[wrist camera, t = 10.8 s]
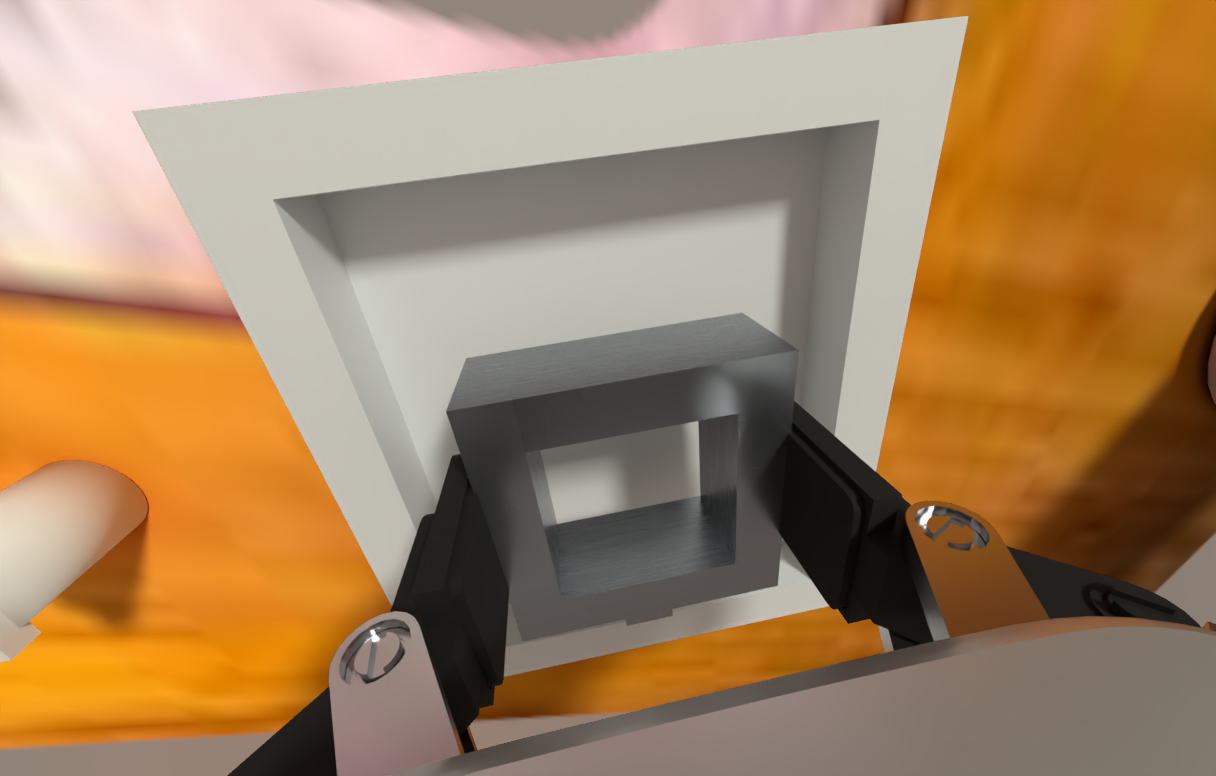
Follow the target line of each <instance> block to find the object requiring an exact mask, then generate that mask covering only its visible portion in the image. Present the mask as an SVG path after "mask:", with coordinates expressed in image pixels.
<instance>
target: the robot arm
mask: <svg viewBox="0 0 1216 776" xmlns="http://www.w3.org/2000/svg"><path fill="white" fill-rule="evenodd" d="M1208 386H1209V389H1210V392H1211V395H1212V398H1213V401H1214V403H1215V404H1216V334H1215V336H1214V339H1213V343H1212V348H1211V352H1210V356H1209V360H1208ZM901 496H902V494H901V493H900V492H898V491H897V490H896V489H895V488H894V487H893V486H891V485H890V484H889V483H888V482H887V481H886V480H885V479H883V478H882V477H881V476H880V475H879V474H878V473H877V472H875V471H874V470H873V469H872V468H871V467H870V466H869V465H867V464H866V463H865V462H864V461H863V460H862V459H861V458H859V457H858V456H857V455H856V454H855V453H854V452H853V451H851V450H850V449H849V448H848V447H847V446H846V445H845V444H843V443H842V442H841V441H840V440H839V439H838V438H836V437H835V436H834V435H833V434H832V433H831V432H830V431H828V430H827V429H826V428H825V427H824V426H823V425H822V424H820V423H819V422H818V421H817V420H816V419H815V418H814V417H812V416H811V415H810V414H809V413H808V412H807V411H806V410H804V409H803V408H802V407H801V406H800V405H799V404H798V403H796V402H795V401H794V408H793V420H792V431H791V433H788V439H787V450H786V462H785V474H784V486H783V498H782V510H781V522H780V535H781V536H782V538H783V539H784V541H785V542H786V544H787V545H788V547H789V548H790V550H791V551H792V553H793V554H794V556H795V557H796V559H797V560H798V561H799V563H800V564H801V566H802V567H803V569H804V570H805V572H806V573H807V575H808V576H809V578H810V579H811V581H812V582H813V584H814V585H815V586H816V588H817V589H818V591H819V592H820V594H821V595H822V597H823V598H824V600H825V601H826V603H827V604H828V605H829V606H830V607H831V608H832V609H838V610H839V611H840V613H841V614H842V616H843V617H844V618H845V620H846V621H847V623H848V624H849V623H853V622H857V621H862V620H866V619H871V620H872V622H873V623H874V624H877V625H879V630H880V635H881V639H882V643H883V647H884V651H885V653H882V654H877V655H873V656H868V657H864V658H860V659H855V660H851V661H847V662H842V663H838V664H834V665H829V666H825V667H821V668H816V669H812V670H808V671H804V672H799V673H795V674H791V675H787V676H782V677H778V678H774V679H770V680H765V681H761V682H757V683H753V684H748V685H744V686H740V687H736V688H731V689H727V690H723V691H719V692H714V693H710V694H706V695H702V696H698V697H693V698H689V699H685V700H681V701H676V702H672V703H668V704H664V705H660V706H655V707H651V708H647V709H643V710H639V711H635V712H631V713H627V714H622V715H618V716H614V717H610V718H606V719H602V720H598V721H594V722H590V723H585V724H581V725H577V726H573V727H569V728H565V729H560V730H556V731H552V732H548V733H544V734H540V735H536V736H532V737H527V738H523V739H519V740H515V741H511V742H508V743H504V744H500V745H496V746H492V747H489V748H485V749H481V750H477V748H476V745H475V742H474V739H473V737H472V734H471V731H470V728H469V725H470V724H471V723H472V722H473V720H474V719H475V718H476V717H477V716H478V714H479V708H482V707H486V706H490V705H493V701H494V688H495V686H497V685H502V683H503V679H504V666H505V650H506V634H507V618H508V603H509V588H508V585H507V582H506V579H505V575H504V572H503V569H502V566H501V563H500V560H499V557H498V554H497V551H496V548H495V545H494V542H493V539H492V536H491V533H490V530H489V527H488V524H487V521H486V518H485V515H484V512H483V509H482V505H481V502H480V499H479V496H478V493H477V492H476V493H473V491H472V488H471V485H470V482H469V479H468V476H467V473H466V470H465V467H464V464H463V461H462V458H461V455H460V454H457V455H453V456H452V457H451V460H450V464H449V467H448V470H447V474H446V477H445V480H444V484H443V487H442V490H441V494H440V497H439V500H438V504H437V507H436V510H435V513H433V514H427V515H425V516H424V517H423V518H422V520H421V522H420V524H419V527H418V530H417V533H416V536H415V539H414V542H413V545H412V548H411V551H410V554H409V557H408V560H407V563H406V566H405V569H404V572H403V575H402V578H401V581H400V584H399V587H398V590H397V593H396V596H395V599H394V602H393V605H392V608H391V611H390V612H389V613H384V614H381V615H379V616H377V617H374V618H372V619H370V620H368V621H367V622H365V623H364V624H362V625H361V626H359V627H358V628H357V629H356V630H354V631H353V632H352V633H351V634H350V635H349V636H348V637H347V638H346V639H345V640H344V642H343V643H342V644H341V646H340V647H339V649H338V650H337V651H336V653H335V655H334V658H333V660H332V662H331V664H330V670H329V687H328V688H327V689H326V690H325V691H324V692H322V693H321V694H320V695H319V696H318V697H317V698H316V699H314V700H313V701H312V702H311V703H310V704H309V705H308V706H306V707H305V708H304V709H303V710H302V711H301V712H300V713H298V714H297V715H296V716H295V717H294V718H293V719H292V720H290V721H289V722H288V723H287V724H286V725H285V726H284V727H282V728H281V729H280V730H279V731H278V732H277V733H276V734H274V735H273V736H272V737H271V738H270V739H269V740H268V741H266V742H265V743H264V744H263V745H262V746H261V747H260V748H258V749H257V750H256V751H255V752H254V753H253V754H252V755H250V757H248V758H247V759H246V760H245V761H244V762H242V763H241V764H240V765H239V766H238V767H237V768H236V769H234V770H233V771H232V772H231V773H230V774H229V775H228V776H1216V624H1214V623H1211V622H1207V623H1206V624H1205V625H1204V627H1203V628H1202V627H1200V625H1199V624H1198V623H1197V622H1196V621H1194V620H1193V619H1192V618H1191V617H1190V616H1189V615H1188V614H1187V613H1186V612H1185V611H1183V610H1182V609H1180V608H1179V607H1177V606H1176V605H1174V604H1173V603H1171V602H1170V601H1168V600H1167V599H1165V598H1162V597H1161V596H1159V595H1157V594H1155V593H1153V592H1151V591H1149V590H1147V589H1144V588H1141V587H1139V586H1136V585H1133V584H1130V583H1128V582H1124V581H1121V580H1118V579H1114V578H1111V577H1108V576H1104V575H1101V574H1098V573H1094V572H1091V571H1088V570H1084V569H1081V568H1077V567H1074V566H1071V565H1067V564H1064V563H1061V562H1057V561H1054V560H1051V559H1047V558H1044V557H1041V556H1037V555H1034V554H1031V553H1027V552H1024V551H1021V550H1017V549H1014V548H1011V547H1007V546H1006V545H1005V543H1004V542H1003V540H1002V539H1001V537H1000V535H999V534H998V532H997V531H996V530H995V528H994V527H993V526H992V525H991V524H990V523H989V522H988V521H986V520H985V519H984V518H982V517H981V516H980V515H978V514H976V513H974V512H972V511H970V510H968V509H966V508H964V507H961V506H958V505H955V504H952V503H946V502H941V501H923V502H918V503H915V504H913V505H912V506H911V505H910V504H909V503H908V502H907V501H906V500H905V499H903V498H902V497H901Z"/></svg>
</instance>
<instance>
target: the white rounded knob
mask: <svg viewBox="0 0 1216 776" xmlns="http://www.w3.org/2000/svg"><path fill="white" fill-rule="evenodd" d="M147 512H148V504H147V500H146V498H145V496H144V494H143V493H142V491H141V490H140V488H139V487H138V486H137V485H136V484H135V483H134V482H133V481H131V480H130V479H129V478H127V477H126V476H124V475H123V474H121V473H119V472H117V471H115V470H113V469H111V468H109V467H106V466H103V465H100V464H97V463H93V462H88V461H82V460H62V461H56V462H52V463H49V464H47V465H45V466H43V467H41V468H39V469H38V470H36V471H34V472H33V473H31V474H29V475H27V476H26V477H24V478H22V479H21V480H19V481H17V482H16V483H14V484H12V485H10V486H9V487H7V488H5V489H4V490H2V491H0V662H3V661H8V660H12V659H13V658H14V657H15V656H16V655H18V654H19V653H20V652H21V651H22V650H23V649H24V648H25V647H26V646H27V645H28V644H29V643H31V642H32V641H33V640H34V639H35V638H36V637H37V636H38V635H39V634H40V633H41V632H40V631H39V630H38V629H37V628H36V627H35V626H33V625H32V624H31V623H30V622H29V621H30V620H31V619H32V618H33V617H34V616H36V615H37V614H38V613H39V612H40V611H41V610H42V609H44V608H45V607H46V606H47V605H48V604H49V603H50V602H52V601H53V600H54V599H55V598H56V597H57V596H58V595H60V594H61V593H62V592H63V591H64V590H65V589H66V588H68V587H69V586H70V585H71V584H72V583H73V582H74V581H76V580H77V579H78V578H79V577H80V576H81V575H82V574H84V573H85V572H86V571H87V570H88V569H89V568H90V567H92V566H93V565H94V564H95V563H96V562H97V561H98V560H100V559H101V558H102V557H103V556H104V555H105V554H106V553H108V552H109V551H110V550H111V549H112V548H113V547H114V546H116V545H117V544H118V543H119V542H120V541H121V540H122V539H124V538H125V537H126V536H127V535H128V534H129V533H130V532H132V531H133V530H134V529H135V528H136V527H137V526H138V525H140V524H141V523H142V522H143V521H144V519H145V517H146V515H147Z"/></svg>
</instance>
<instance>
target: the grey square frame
mask: <svg viewBox="0 0 1216 776" xmlns="http://www.w3.org/2000/svg"><path fill="white" fill-rule="evenodd" d="M798 352H799V350H798V349H796V348H795V347H793V346H792V345H790V344H789V343H787V342H786V341H784V340H783V339H781V338H780V337H778V336H777V335H775V334H774V333H772V332H771V331H769V330H768V329H766V328H765V327H763V326H762V325H760V324H759V323H757V322H756V321H754V320H753V319H751V318H750V317H748V316H747V315H745V314H744V313H737V314H731V315H725V316H718V317H712V318H706V319H700V320H694V321H688V322H682V323H676V324H670V325H664V326H658V327H652V328H646V329H640V330H634V331H628V332H622V333H616V334H609V335H603V336H597V337H591V338H585V339H579V340H573V341H567V342H561V343H555V344H549V345H543V346H537V347H531V348H525V349H519V350H513V351H507V352H500V353H494V354H488V355H482V356H476V357H470V358H466V360H465V363H464V365H463V368H462V371H461V373H460V376H459V379H458V381H457V384H456V386H455V389H454V392H453V394H452V397H451V400H450V402H449V405H448V408H447V410H446V413H447V416H448V419H449V422H450V425H451V428H452V431H453V434H454V437H455V440H456V443H457V446H458V449H459V452H460V455H461V458H462V461H463V464H464V467H465V470H466V473H467V476H468V479H469V482H470V485H471V488H472V491H473V493H476V492H477V493H478V496H479V499H480V502H481V505H482V509H483V512H484V515H485V518H486V521H487V524H488V527H489V530H490V533H491V536H492V539H493V542H494V545H495V548H496V551H497V554H498V557H499V560H500V563H501V566H502V569H503V572H504V575H505V579H506V582H507V585H508V588H509V601H510V604H511V607H512V610H513V613H514V616H515V619H516V622H517V625H518V628H519V631H520V634H521V637H522V640H523V642H524V641H529V640H533V639H538V638H543V637H547V636H552V635H556V634H561V633H565V632H570V631H574V630H579V629H584V628H588V627H593V626H597V625H602V624H606V623H611V622H615V621H620V620H626V625H627V626H629V625H634V624H638V623H643V622H647V621H652V620H656V619H661V618H665V617H670V616H673V611H672V609H675V608H679V607H684V606H688V605H693V604H697V603H702V602H707V601H711V600H716V599H720V598H725V597H729V596H734V595H738V594H743V593H748V592H752V591H757V590H761V589H766V588H770V587H775V586H778V578H779V566H780V555H781V544H782V536H781V535H780V522H781V510H782V498H783V486H784V474H785V462H786V450H787V439H788V433H791V431H792V420H793V408H794V397H795V386H796V374H797V363H798ZM696 421H698V429H699V465H700V496H696V497H691V498H686V499H681V500H676V501H671V502H666V503H661V504H656V505H651V506H646V507H641V508H636V509H631V510H626V511H621V512H616V513H611V514H606V515H601V516H596V517H591V518H586V519H581V520H576V521H571V522H566V523H561V524H557V521H556V517H555V512H554V508H553V504H552V499H551V495H550V491H549V486H548V482H547V478H546V473H545V469H544V465H543V460H542V456H541V452H540V450H544V449H550V448H555V447H560V446H566V445H571V444H577V443H582V442H587V441H593V440H598V439H604V438H609V437H615V436H620V435H625V434H631V433H636V432H642V431H647V430H652V429H658V428H663V427H669V426H674V425H680V424H685V423H690V422H696Z"/></svg>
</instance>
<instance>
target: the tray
mask: <svg viewBox="0 0 1216 776" xmlns="http://www.w3.org/2000/svg"><path fill="white" fill-rule="evenodd" d="M967 21H968V16H964V17H955V18H946V19H938V20H929V21H920V22H911V23H903V24H894V25H885V26H876V27H868V28H859V29H850V30H841V31H833V32H824V33H815V34H806V35H798V36H789V37H780V38H771V39H763V40H754V41H745V42H736V43H728V44H719V45H710V46H701V47H692V48H684V49H675V50H666V51H658V52H649V53H640V54H631V55H622V56H614V57H605V58H596V59H587V60H579V61H570V62H561V63H552V64H544V65H535V66H526V67H517V68H509V69H500V70H491V71H482V72H474V73H465V74H456V75H447V76H439V77H430V78H421V79H412V80H404V81H395V82H386V83H377V84H369V85H360V86H351V87H342V88H334V89H325V90H316V91H307V92H299V93H290V94H281V95H272V96H264V97H255V98H246V99H237V100H229V101H220V102H211V103H202V104H194V105H185V106H176V107H167V108H159V109H150V110H141V111H132V112H133V114H134V116H135V118H136V120H137V122H138V124H139V126H140V127H141V129H142V131H143V133H144V135H145V137H146V139H147V141H148V143H149V145H150V146H151V148H152V150H153V152H154V154H155V156H156V158H157V160H158V162H159V164H160V166H161V167H162V169H163V171H164V173H165V175H166V177H167V179H168V181H169V183H170V185H171V187H172V188H173V190H174V192H175V194H176V196H177V198H178V200H179V202H180V204H181V206H182V208H183V209H184V211H185V213H186V215H187V217H188V219H189V221H190V223H191V225H192V227H193V228H194V230H195V232H196V234H197V236H198V238H199V240H200V242H201V244H202V246H203V248H204V249H205V251H206V253H207V255H208V257H209V259H210V261H211V263H212V265H213V267H214V269H215V270H216V272H217V274H218V276H219V278H220V280H221V282H222V284H223V286H224V288H225V290H226V291H227V293H228V295H229V297H230V299H231V301H232V303H233V305H234V307H235V309H236V311H237V312H238V314H239V316H240V318H241V320H242V322H243V324H244V326H245V328H246V330H247V331H248V333H249V335H250V337H251V339H252V341H253V343H254V345H255V347H256V349H257V351H258V352H259V354H260V356H261V358H262V360H263V362H264V364H265V366H266V368H267V370H268V372H269V373H270V375H271V377H272V379H273V381H274V383H275V385H276V387H277V389H278V391H279V393H280V394H281V396H282V398H283V400H284V402H285V404H286V406H287V408H288V410H289V412H290V413H291V415H292V417H293V419H294V421H295V423H296V425H297V427H298V429H299V431H300V433H301V434H302V436H303V438H304V440H305V442H306V444H307V446H308V448H309V450H310V452H311V454H312V455H313V457H314V459H315V461H316V463H317V465H318V467H319V469H320V471H321V473H322V475H323V476H324V478H325V480H326V482H327V484H328V486H329V488H330V490H331V492H332V494H333V495H334V497H335V499H336V501H337V503H338V505H339V507H340V509H341V511H342V513H343V515H344V516H345V518H346V520H347V522H348V524H349V526H350V528H351V530H352V532H353V534H354V536H355V537H356V539H357V541H358V543H359V545H360V547H361V549H362V551H363V553H364V555H365V557H366V558H367V560H368V562H369V564H370V566H371V568H372V570H373V572H374V574H375V576H376V577H377V579H378V581H379V583H380V585H381V587H382V589H383V591H384V593H385V595H386V597H387V598H388V600H389V602H390V604H391V606H392V605H393V602H394V599H395V596H396V593H397V590H398V587H399V584H400V581H401V578H402V575H403V572H404V569H405V566H406V563H407V560H408V557H409V554H410V551H411V548H412V545H413V542H414V539H415V536H416V533H417V530H418V527H419V524H420V522H421V520H422V518H423V517H424V516H425V515H427V514H433V513H435V510H436V507H437V504H438V500H439V497H440V494H441V490H442V487H443V484H444V480H445V477H446V474H447V470H448V467H449V464H450V460H451V457H452V456H453V455H457V454H460V452H459V449H458V446H457V443H456V440H455V437H454V434H453V431H452V428H451V425H450V422H449V419H448V416H447V413H446V410H447V408H448V405H449V402H450V400H451V397H452V394H453V392H454V389H455V386H456V384H457V381H458V379H459V376H460V373H461V371H462V368H463V365H464V363H465V360H466V358H470V357H476V356H482V355H488V354H494V353H500V352H507V351H513V350H519V349H525V348H531V347H537V346H543V345H549V344H555V343H561V342H567V341H573V340H579V339H585V338H591V337H597V336H603V335H609V334H616V333H622V332H628V331H634V330H640V329H646V328H652V327H658V326H664V325H670V324H676V323H682V322H688V321H694V320H700V319H706V318H712V317H718V316H725V315H731V314H737V313H744V314H745V315H747V316H748V317H750V318H751V319H753V320H754V321H756V322H757V323H759V324H760V325H762V326H763V327H765V328H766V329H768V330H769V331H771V332H772V333H774V334H775V335H777V336H778V337H780V338H781V339H783V340H784V341H786V342H787V343H789V344H790V345H792V346H793V347H795V348H796V349H798V350H799V352H798V363H797V374H796V386H795V397H794V401H795V402H796V403H798V404H799V405H800V406H801V407H802V408H803V409H804V410H806V411H807V412H808V413H809V414H810V415H811V416H812V417H814V418H815V419H816V420H817V421H818V422H819V423H820V424H822V425H823V426H824V427H825V428H826V429H827V430H828V431H830V432H831V433H832V434H833V435H834V436H835V437H836V438H838V439H839V440H840V441H841V442H842V443H843V444H845V445H846V446H847V447H848V448H849V449H850V450H851V451H853V452H854V453H855V454H856V455H857V456H858V457H859V458H861V459H862V460H863V461H864V462H865V463H866V464H867V465H869V466H870V467H871V468H872V469H873V470H874V471H875V472H876V468H877V463H878V458H879V453H880V449H881V444H882V439H883V434H884V429H885V424H886V419H887V414H888V409H889V404H890V399H891V394H892V390H893V385H894V380H895V375H896V370H897V365H898V360H899V355H900V350H901V345H902V340H903V335H904V331H905V326H906V321H907V316H908V311H909V306H910V301H911V296H912V291H913V286H914V281H915V276H916V272H917V267H918V262H919V257H920V252H921V247H922V242H923V237H924V232H925V227H926V222H927V218H928V213H929V208H930V203H931V198H932V193H933V188H934V183H935V178H936V173H937V168H938V163H939V159H940V154H941V149H942V144H943V139H944V134H945V129H946V124H947V119H948V114H949V109H950V104H951V100H952V95H953V90H954V85H955V80H956V75H957V70H958V65H959V60H960V55H961V50H962V45H963V41H964V36H965V31H966V26H967ZM540 452H541V456H542V460H543V465H544V469H545V473H546V478H547V482H548V486H549V491H550V495H551V499H552V504H553V508H554V512H555V517H556V521H557V524H561V523H566V522H571V521H576V520H581V519H586V518H591V517H596V516H601V515H606V514H611V513H616V512H621V511H626V510H631V509H636V508H641V507H646V506H651V505H656V504H661V503H666V502H671V501H676V500H681V499H686V498H691V497H696V496H700V465H699V429H698V421H696V422H690V423H685V424H680V425H674V426H669V427H663V428H658V429H652V430H647V431H642V432H636V433H631V434H625V435H620V436H615V437H609V438H604V439H598V440H593V441H587V442H582V443H577V444H571V445H566V446H560V447H555V448H550V449H544V450H540ZM827 606H829V605H828V604H827V603H826V601H825V600H824V598H823V597H822V595H821V594H820V592H819V591H818V589H817V588H816V586H815V585H814V584H813V582H812V581H811V579H810V578H809V576H808V575H807V573H806V572H805V570H804V569H803V567H802V566H801V564H800V563H799V561H798V560H797V559H796V557H795V556H794V554H793V553H792V551H791V550H790V548H789V547H788V545H787V544H786V542H785V541H784V539H783V538H782V544H781V555H780V566H779V578H778V586H775V587H770V588H766V589H761V590H757V591H752V592H748V593H743V594H738V595H734V596H729V597H725V598H720V599H716V600H711V601H707V602H702V603H697V604H693V605H688V606H684V607H679V608H675V609H672V611H673V616H670V617H665V618H661V619H656V620H652V621H647V622H643V623H638V624H634V625H629V626H627V625H626V620H620V621H615V622H611V623H606V624H602V625H597V626H593V627H588V628H584V629H579V630H574V631H570V632H565V633H561V634H556V635H552V636H547V637H543V638H538V639H533V640H529V641H524V642H523V640H522V637H521V634H520V631H519V628H518V625H517V622H516V619H515V616H514V613H513V610H512V607H511V604H510V601H509V603H508V618H507V634H506V650H505V666H504V677H507V676H511V675H516V674H520V673H525V672H529V671H534V670H539V669H543V668H548V667H552V666H557V665H561V664H566V663H571V662H575V661H580V660H584V659H589V658H594V657H598V656H603V655H607V654H612V653H616V652H621V651H626V650H630V649H635V648H639V647H644V646H648V645H653V644H658V643H662V642H667V641H671V640H676V639H681V638H685V637H690V636H694V635H699V634H703V633H708V632H713V631H717V630H722V629H726V628H731V627H735V626H740V625H745V624H749V623H754V622H758V621H763V620H767V619H772V618H777V617H781V616H786V615H790V614H795V613H800V612H804V611H809V610H813V609H818V608H822V607H827Z"/></svg>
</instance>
